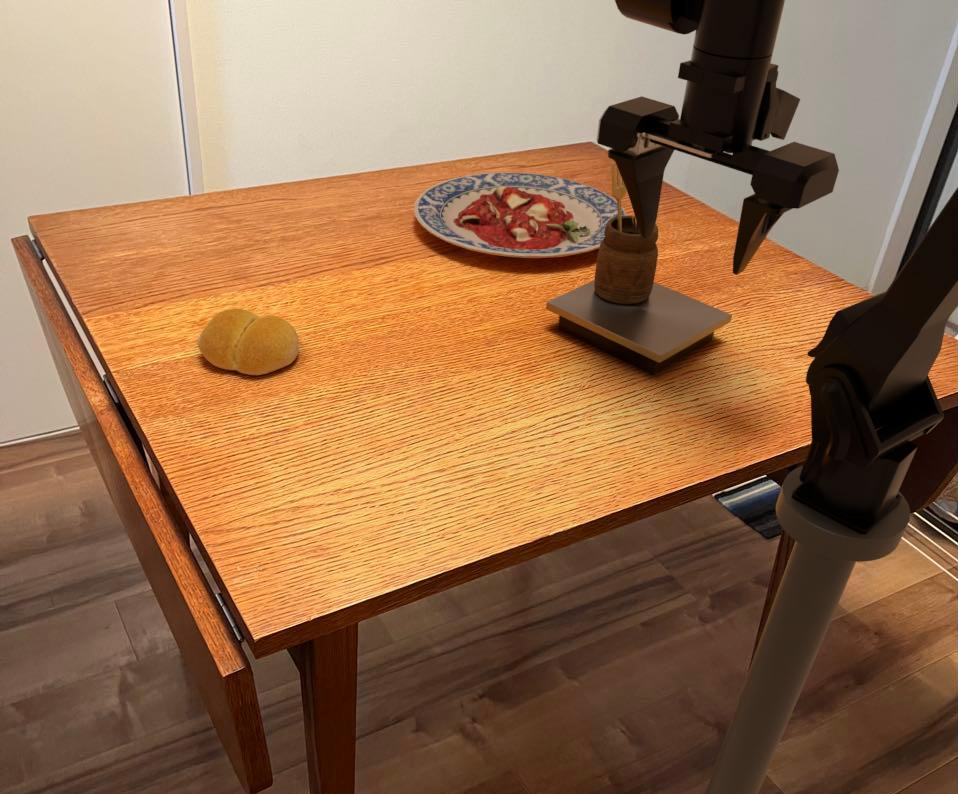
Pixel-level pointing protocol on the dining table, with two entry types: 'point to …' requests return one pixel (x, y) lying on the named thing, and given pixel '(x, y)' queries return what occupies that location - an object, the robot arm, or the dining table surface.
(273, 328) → the bread roll
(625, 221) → the utensil holder
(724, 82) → the robot arm
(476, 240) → the ceramic plate
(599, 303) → the platform
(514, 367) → the dining table surface
